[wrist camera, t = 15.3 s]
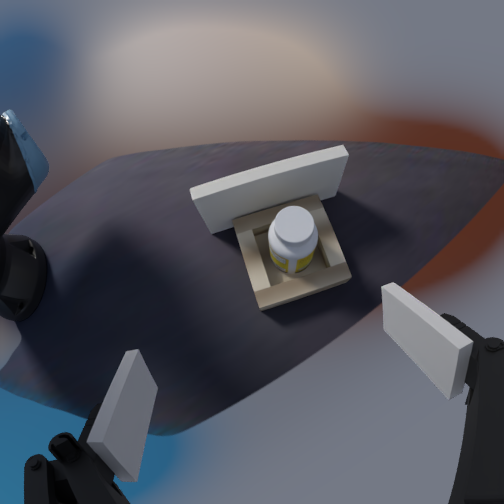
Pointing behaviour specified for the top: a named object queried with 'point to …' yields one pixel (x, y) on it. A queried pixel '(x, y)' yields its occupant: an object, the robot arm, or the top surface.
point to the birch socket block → (281, 284)
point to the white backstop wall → (269, 187)
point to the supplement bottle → (292, 239)
